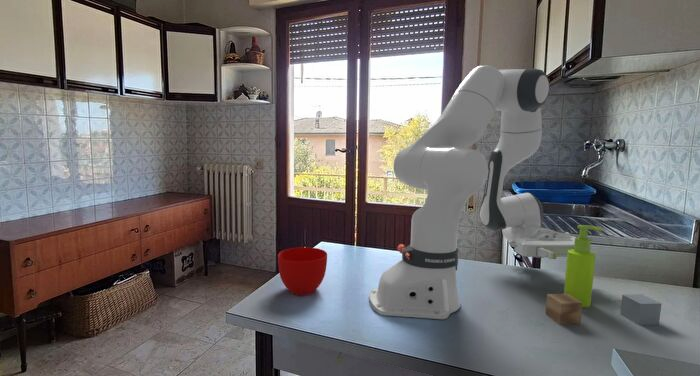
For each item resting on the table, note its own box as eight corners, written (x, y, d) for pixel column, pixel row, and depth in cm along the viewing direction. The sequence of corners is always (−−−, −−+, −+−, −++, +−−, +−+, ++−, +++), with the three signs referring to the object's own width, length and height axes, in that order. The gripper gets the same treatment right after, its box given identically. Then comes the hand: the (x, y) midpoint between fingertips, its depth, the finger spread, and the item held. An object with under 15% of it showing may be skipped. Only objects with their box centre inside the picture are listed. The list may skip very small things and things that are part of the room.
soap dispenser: (595, 310, 88) (604, 230, 86) (562, 303, 92) (570, 226, 89) (594, 302, 93) (602, 225, 91) (563, 295, 97) (570, 222, 94)
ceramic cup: (337, 279, 105) (338, 245, 104) (316, 303, 89) (316, 264, 88) (296, 274, 109) (296, 241, 108) (268, 296, 93) (268, 258, 91)
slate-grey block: (638, 325, 82) (640, 303, 81) (620, 314, 86) (622, 294, 86) (658, 324, 82) (661, 303, 81) (639, 314, 87) (641, 294, 86)
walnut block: (559, 324, 81) (561, 303, 80) (545, 314, 86) (547, 294, 85) (580, 324, 81) (582, 302, 81) (565, 313, 86) (567, 293, 86)
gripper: (506, 231, 108) (534, 244, 94) (572, 231, 110) (608, 244, 96) (505, 252, 109) (532, 268, 95) (570, 252, 110) (605, 267, 97)
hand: (571, 256), depth 95 cm, fingers open, 8 cm apart
